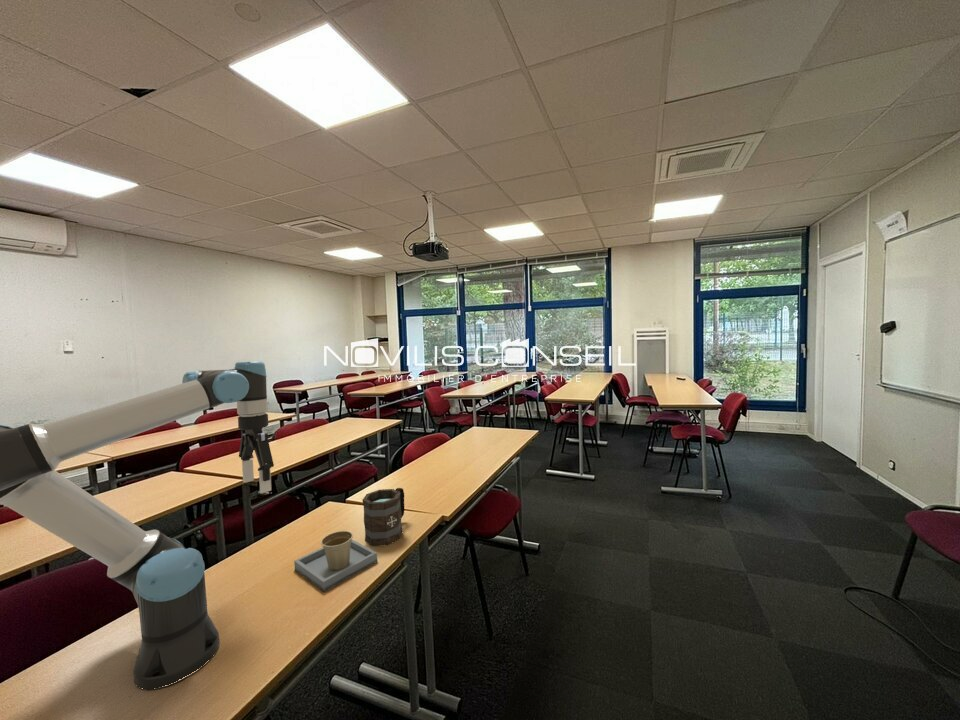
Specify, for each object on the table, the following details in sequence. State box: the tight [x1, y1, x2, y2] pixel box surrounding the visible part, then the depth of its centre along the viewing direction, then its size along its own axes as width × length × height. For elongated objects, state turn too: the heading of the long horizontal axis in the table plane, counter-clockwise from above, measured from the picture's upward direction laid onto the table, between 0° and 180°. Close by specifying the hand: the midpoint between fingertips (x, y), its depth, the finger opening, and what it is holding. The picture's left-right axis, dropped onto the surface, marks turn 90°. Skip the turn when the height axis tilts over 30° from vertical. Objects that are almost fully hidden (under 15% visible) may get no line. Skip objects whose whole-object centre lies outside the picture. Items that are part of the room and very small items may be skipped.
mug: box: [361, 487, 405, 547], centre depth 140 cm, size 20×14×15 cm
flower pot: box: [320, 530, 354, 570], centre depth 119 cm, size 9×9×9 cm
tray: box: [293, 539, 378, 593], centre depth 120 cm, size 18×18×3 cm
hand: (256, 486), depth 110 cm, fingers open, 13 cm apart
